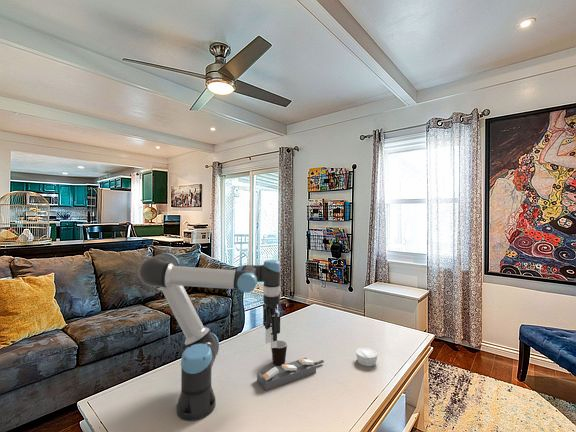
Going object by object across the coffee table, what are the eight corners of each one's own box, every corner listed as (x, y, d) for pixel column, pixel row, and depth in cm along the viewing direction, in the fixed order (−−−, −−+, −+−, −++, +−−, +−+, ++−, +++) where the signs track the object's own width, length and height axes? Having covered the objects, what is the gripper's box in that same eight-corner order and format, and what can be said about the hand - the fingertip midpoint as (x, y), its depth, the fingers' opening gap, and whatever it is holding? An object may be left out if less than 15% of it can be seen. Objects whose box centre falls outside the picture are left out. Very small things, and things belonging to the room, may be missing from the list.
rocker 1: (266, 380, 128) (265, 378, 128) (263, 377, 131) (262, 374, 131) (279, 371, 132) (278, 369, 131) (275, 368, 134) (275, 366, 134)
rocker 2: (284, 370, 133) (285, 367, 133) (281, 366, 136) (282, 364, 136) (296, 370, 137) (297, 367, 137) (293, 367, 139) (293, 364, 140)
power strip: (265, 390, 127) (265, 381, 127) (256, 380, 135) (257, 371, 134) (328, 368, 146) (328, 359, 146) (317, 360, 153) (317, 352, 153)
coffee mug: (285, 368, 145) (285, 348, 145) (268, 366, 147) (268, 347, 147) (289, 356, 157) (289, 338, 156) (274, 354, 158) (274, 337, 158)
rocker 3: (302, 364, 138) (303, 361, 139) (298, 361, 141) (299, 358, 141) (313, 364, 142) (314, 362, 142) (309, 361, 145) (310, 359, 145)
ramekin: (351, 362, 152) (352, 352, 152) (362, 354, 160) (362, 345, 160) (371, 370, 144) (371, 360, 144) (381, 361, 153) (381, 352, 152)
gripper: (288, 298, 125) (288, 351, 125) (269, 288, 140) (269, 335, 140) (273, 301, 121) (273, 355, 121) (256, 290, 136) (255, 339, 136)
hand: (271, 344), depth 131 cm, fingers open, 4 cm apart
